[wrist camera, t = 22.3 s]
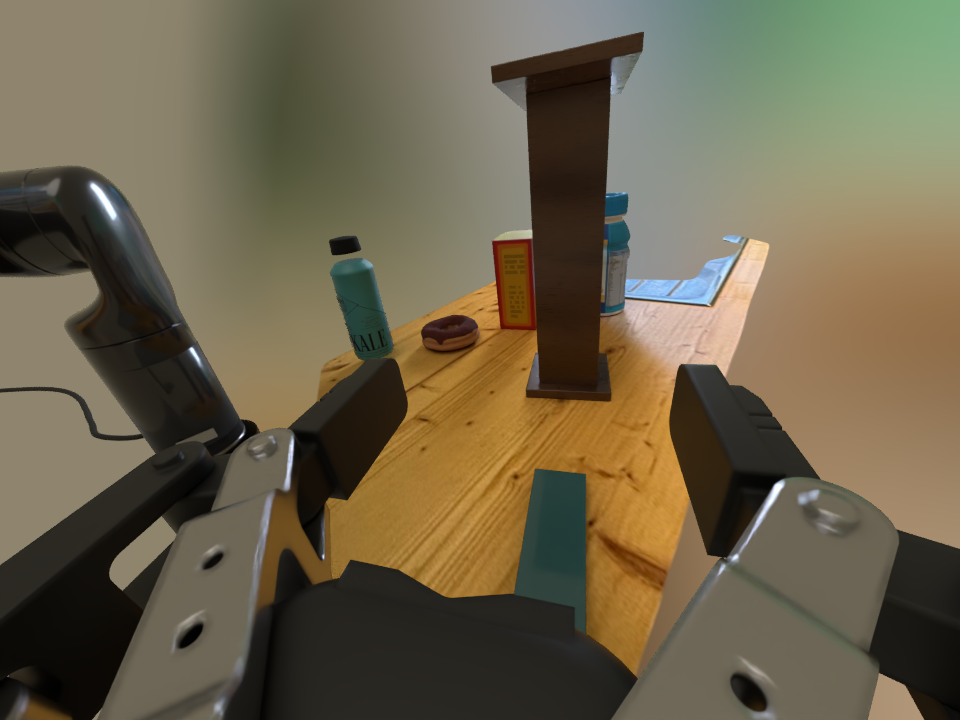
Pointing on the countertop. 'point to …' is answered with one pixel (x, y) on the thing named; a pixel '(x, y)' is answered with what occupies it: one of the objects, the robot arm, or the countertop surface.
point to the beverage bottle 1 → (360, 301)
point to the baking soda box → (515, 279)
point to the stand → (569, 204)
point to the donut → (450, 333)
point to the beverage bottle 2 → (614, 254)
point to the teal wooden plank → (555, 542)
